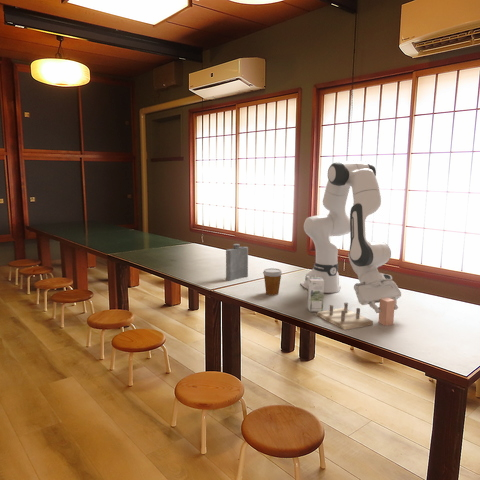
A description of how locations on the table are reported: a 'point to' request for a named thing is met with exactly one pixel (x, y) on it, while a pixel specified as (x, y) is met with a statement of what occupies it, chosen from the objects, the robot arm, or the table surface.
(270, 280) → the disposable coffee cup
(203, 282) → the table surface
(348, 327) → the peg board
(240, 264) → the hip flask
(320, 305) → the syrup box
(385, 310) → the terracotta block
